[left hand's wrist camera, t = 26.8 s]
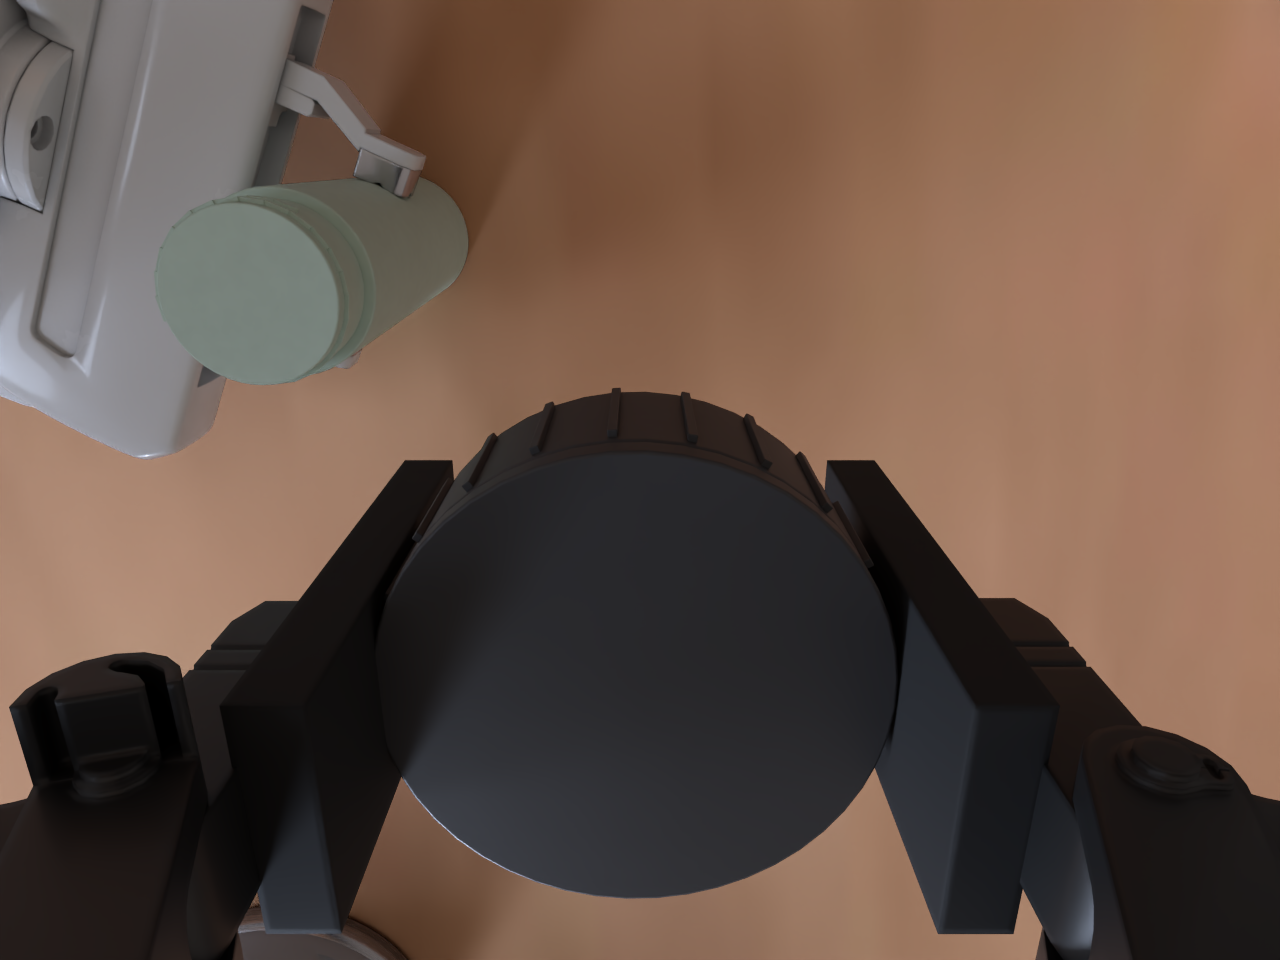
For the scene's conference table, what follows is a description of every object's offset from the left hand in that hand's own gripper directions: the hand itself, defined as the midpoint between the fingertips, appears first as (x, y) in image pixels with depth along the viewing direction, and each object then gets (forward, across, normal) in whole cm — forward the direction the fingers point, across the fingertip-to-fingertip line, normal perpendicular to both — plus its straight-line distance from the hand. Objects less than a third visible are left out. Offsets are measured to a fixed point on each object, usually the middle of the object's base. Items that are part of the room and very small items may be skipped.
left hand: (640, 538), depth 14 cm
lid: (-4, 0, 0) cm, 4 cm away
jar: (+25, +10, -2) cm, 27 cm away
